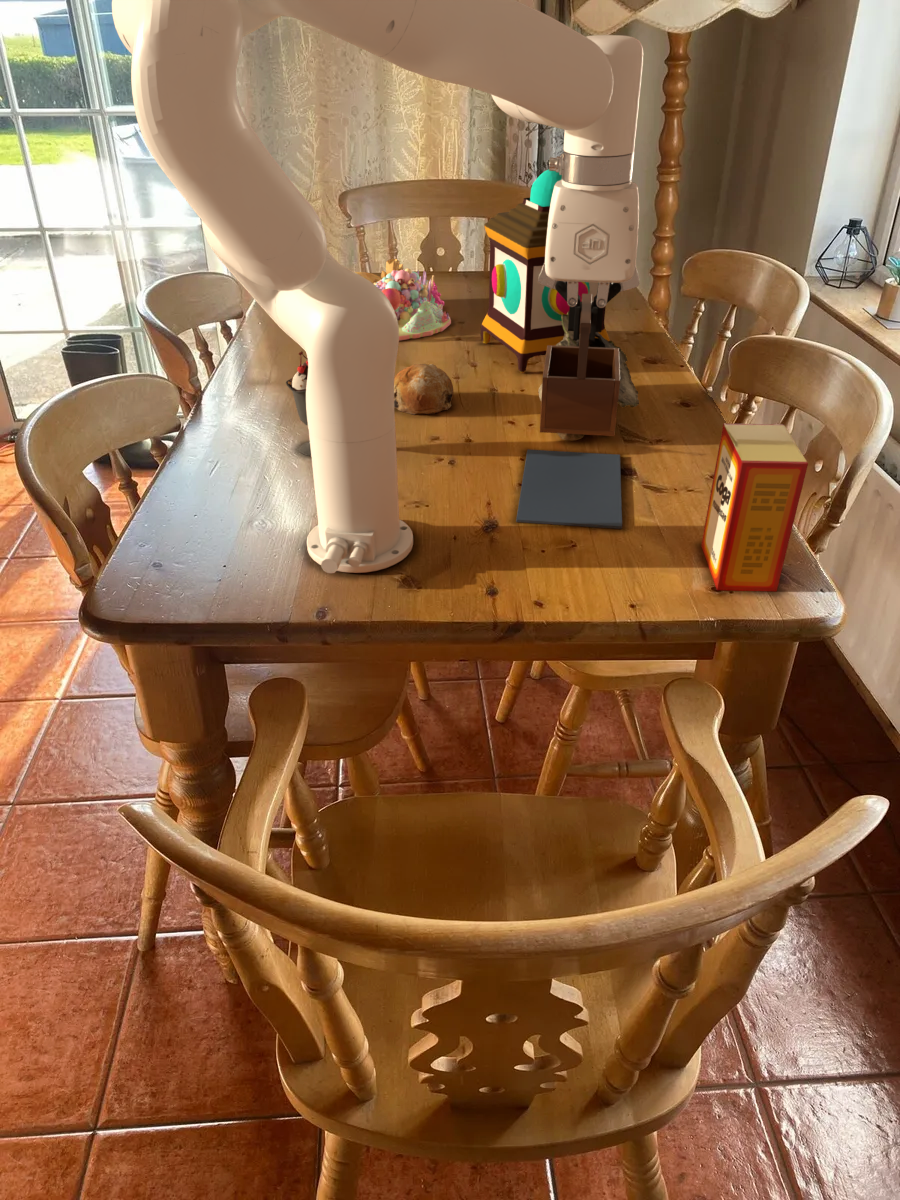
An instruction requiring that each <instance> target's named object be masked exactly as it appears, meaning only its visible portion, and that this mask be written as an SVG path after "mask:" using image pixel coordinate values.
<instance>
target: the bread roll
mask: <svg viewBox="0 0 900 1200" xmlns="http://www.w3.org/2000/svg"><path fill="white" fill-rule="evenodd" d="M453 398H454V385H453V382H452V380H451V378H450V376H449V375H448V374H447V373H446V371H444V370H443V369H442V368H438V367H437V365H435V364H434V363H432V364H431V363H429V364H427V363H415V364H413V365H409V366H407V367H405V368H403V369H401V370H400V371H399V372H398V373H396V374H395V376H394V409H396V410H397V411H399V412H402V413H406V414H410V415H413V416H416V415H419V414H420V415H423V414H424V415H431V414H438V413H440V412H442V411H448V410H449V409H450V408H452V401H453Z"/></svg>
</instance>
